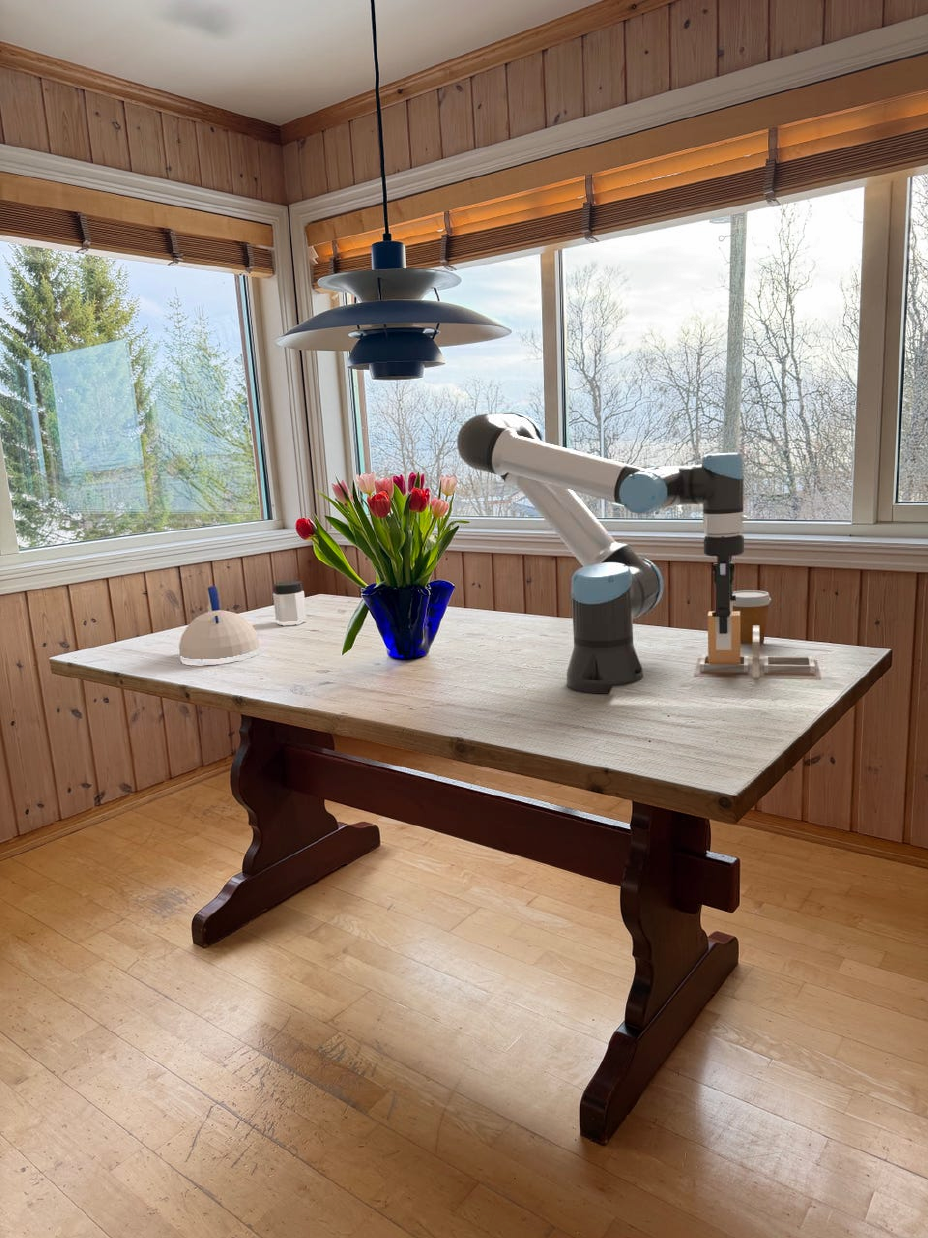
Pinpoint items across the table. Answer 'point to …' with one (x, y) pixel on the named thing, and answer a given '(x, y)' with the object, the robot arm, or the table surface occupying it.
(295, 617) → the jar
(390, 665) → the table surface
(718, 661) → the block
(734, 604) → the disposable coffee cup
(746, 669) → the divided caddy with handle
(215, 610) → the beige dome cover
